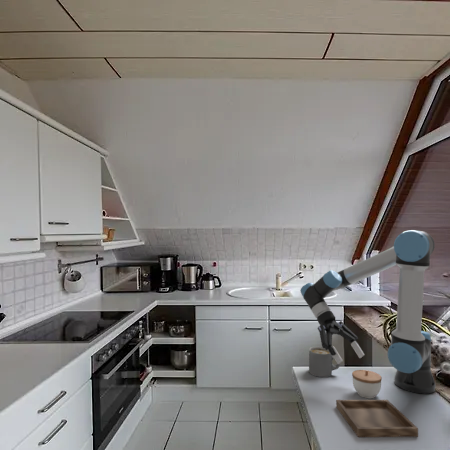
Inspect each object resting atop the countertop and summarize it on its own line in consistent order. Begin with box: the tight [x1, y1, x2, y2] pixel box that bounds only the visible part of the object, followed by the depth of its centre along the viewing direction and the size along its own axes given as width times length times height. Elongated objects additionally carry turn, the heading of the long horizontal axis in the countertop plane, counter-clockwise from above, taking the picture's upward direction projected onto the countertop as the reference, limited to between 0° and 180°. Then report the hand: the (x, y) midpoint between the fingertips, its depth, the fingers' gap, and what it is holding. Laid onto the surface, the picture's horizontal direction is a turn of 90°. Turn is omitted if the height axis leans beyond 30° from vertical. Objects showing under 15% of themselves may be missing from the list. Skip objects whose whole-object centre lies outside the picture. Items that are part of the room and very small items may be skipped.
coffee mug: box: [308, 346, 341, 378], centre depth 160 cm, size 13×10×10 cm
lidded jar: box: [351, 369, 383, 399], centre depth 139 cm, size 11×11×9 cm
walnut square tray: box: [335, 399, 419, 438], centre depth 120 cm, size 19×19×2 cm
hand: (351, 359), depth 145 cm, fingers open, 13 cm apart
